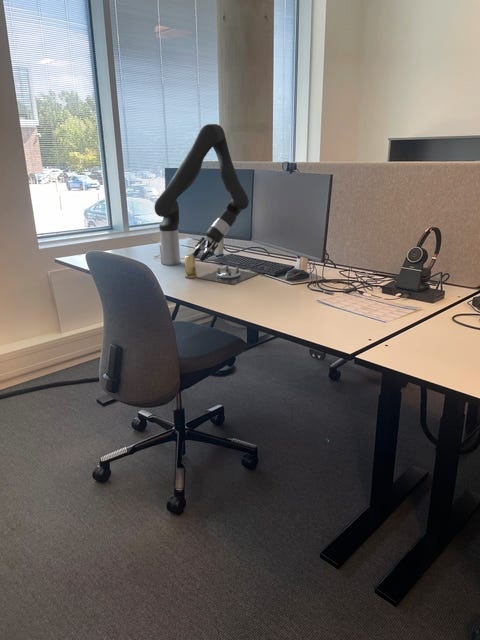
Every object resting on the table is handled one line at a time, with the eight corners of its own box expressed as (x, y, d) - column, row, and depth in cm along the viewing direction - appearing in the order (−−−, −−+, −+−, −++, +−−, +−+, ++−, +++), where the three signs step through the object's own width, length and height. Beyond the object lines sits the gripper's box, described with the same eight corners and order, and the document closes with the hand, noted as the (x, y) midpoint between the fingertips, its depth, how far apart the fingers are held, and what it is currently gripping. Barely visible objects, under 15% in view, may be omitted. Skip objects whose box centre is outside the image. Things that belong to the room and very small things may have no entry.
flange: (197, 278, 207) (197, 269, 206) (224, 268, 222) (224, 260, 221) (233, 285, 196) (232, 275, 194) (258, 274, 211) (258, 265, 209)
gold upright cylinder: (183, 277, 209) (181, 256, 205) (190, 275, 213) (189, 253, 209) (191, 279, 206) (190, 257, 202) (199, 276, 210) (198, 255, 206)
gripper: (206, 223, 212) (185, 250, 211) (219, 227, 201) (197, 256, 200) (216, 233, 217) (196, 260, 216) (230, 238, 205) (209, 266, 204)
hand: (196, 258), depth 208 cm, fingers open, 8 cm apart
